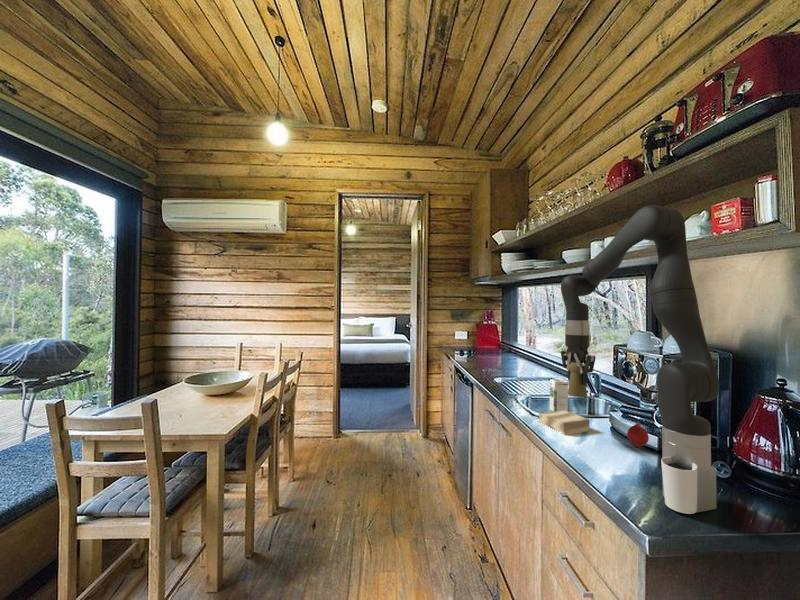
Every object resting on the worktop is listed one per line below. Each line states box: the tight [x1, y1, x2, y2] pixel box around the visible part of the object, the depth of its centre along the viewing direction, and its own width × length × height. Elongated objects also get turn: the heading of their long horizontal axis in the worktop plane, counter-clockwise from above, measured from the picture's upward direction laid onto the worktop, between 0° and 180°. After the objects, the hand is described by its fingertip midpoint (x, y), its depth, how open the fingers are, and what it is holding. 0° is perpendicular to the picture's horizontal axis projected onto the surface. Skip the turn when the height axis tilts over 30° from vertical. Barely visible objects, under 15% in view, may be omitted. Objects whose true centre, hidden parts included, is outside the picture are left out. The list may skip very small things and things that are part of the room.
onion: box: [626, 422, 649, 448], centre depth 114 cm, size 6×6×8 cm
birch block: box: [538, 410, 590, 435], centre depth 132 cm, size 12×12×5 cm
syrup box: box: [549, 378, 569, 412], centre depth 149 cm, size 6×6×14 cm
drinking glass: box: [660, 457, 698, 515], centre depth 81 cm, size 7×7×10 cm
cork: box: [568, 363, 588, 398], centre depth 121 cm, size 6×6×11 cm
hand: (577, 382), depth 121 cm, fingers closed on cork, 4 cm apart
